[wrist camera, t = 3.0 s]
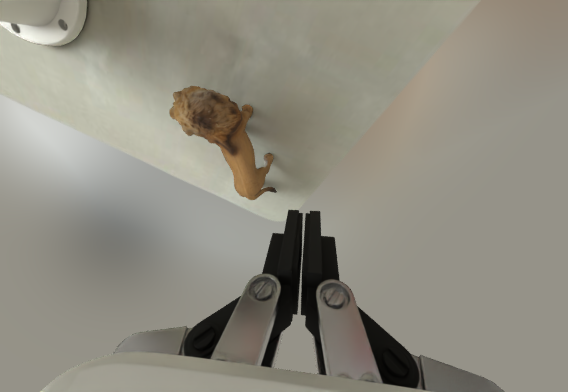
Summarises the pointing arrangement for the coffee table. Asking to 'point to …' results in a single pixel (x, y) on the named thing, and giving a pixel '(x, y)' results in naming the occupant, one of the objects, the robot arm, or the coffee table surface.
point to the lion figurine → (223, 134)
